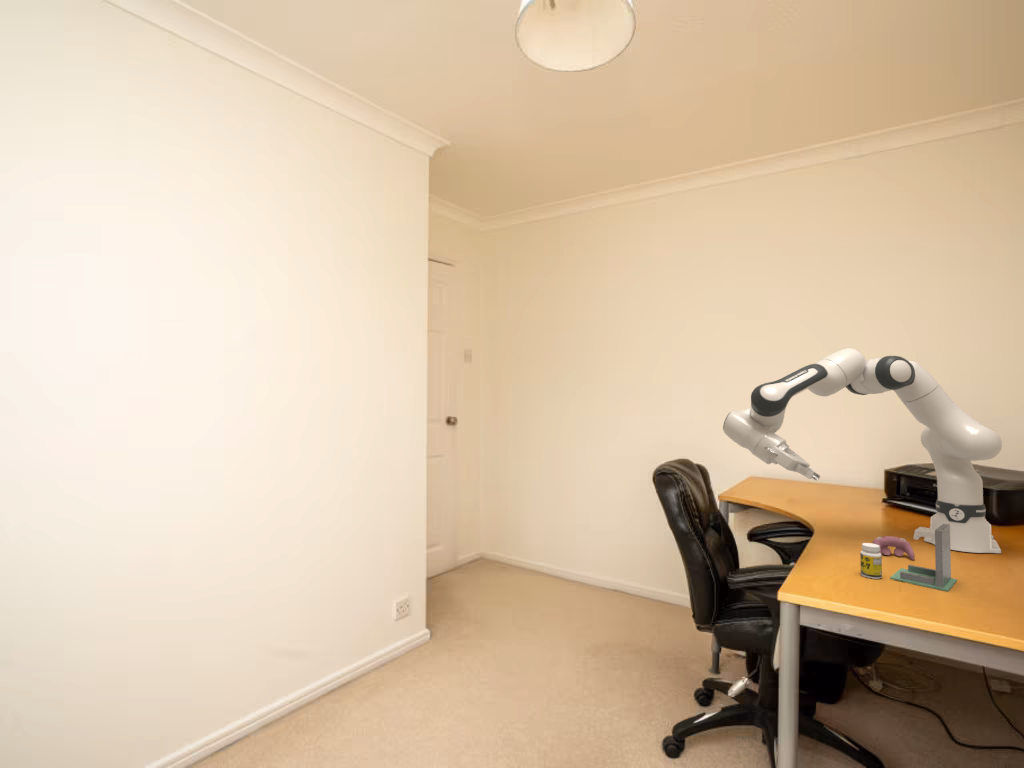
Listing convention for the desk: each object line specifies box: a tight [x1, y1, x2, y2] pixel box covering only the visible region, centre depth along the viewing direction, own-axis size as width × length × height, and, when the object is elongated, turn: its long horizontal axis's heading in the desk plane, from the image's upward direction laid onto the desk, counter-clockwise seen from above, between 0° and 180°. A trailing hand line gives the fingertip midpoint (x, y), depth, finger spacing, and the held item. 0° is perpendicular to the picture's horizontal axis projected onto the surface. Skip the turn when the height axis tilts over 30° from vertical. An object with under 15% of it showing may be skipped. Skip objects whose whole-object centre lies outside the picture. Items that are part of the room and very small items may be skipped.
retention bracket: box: [900, 524, 952, 588], centre depth 139 cm, size 10×9×14 cm
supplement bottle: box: [859, 542, 883, 580], centre depth 143 cm, size 5×5×8 cm
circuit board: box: [889, 567, 958, 592], centre depth 140 cm, size 11×12×1 cm
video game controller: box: [872, 535, 915, 561], centre depth 160 cm, size 10×5×7 cm, turn 71°
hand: (815, 477), depth 152 cm, fingers open, 8 cm apart
